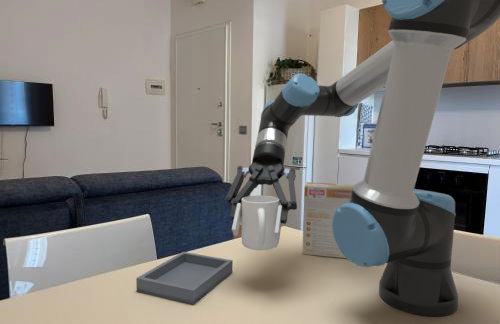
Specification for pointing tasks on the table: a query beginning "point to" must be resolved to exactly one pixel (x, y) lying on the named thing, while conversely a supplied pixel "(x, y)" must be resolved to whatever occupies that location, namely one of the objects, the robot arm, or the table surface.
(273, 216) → the mug
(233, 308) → the table surface
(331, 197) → the coffeecake box
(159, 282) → the tray
